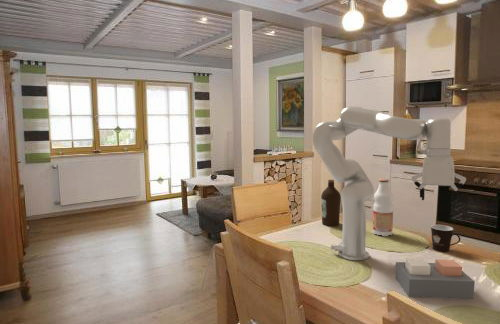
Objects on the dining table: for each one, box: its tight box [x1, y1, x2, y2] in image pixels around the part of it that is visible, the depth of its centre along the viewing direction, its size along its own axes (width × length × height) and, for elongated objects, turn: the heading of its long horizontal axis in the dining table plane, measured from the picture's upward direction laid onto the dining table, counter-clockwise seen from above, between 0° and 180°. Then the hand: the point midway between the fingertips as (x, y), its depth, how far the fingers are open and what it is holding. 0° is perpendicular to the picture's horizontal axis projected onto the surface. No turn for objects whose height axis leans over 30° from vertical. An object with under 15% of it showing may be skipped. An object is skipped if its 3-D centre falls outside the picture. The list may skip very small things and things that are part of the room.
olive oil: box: [320, 179, 342, 227], centre depth 194 cm, size 11×11×25 cm
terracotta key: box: [434, 258, 463, 276], centre depth 118 cm, size 6×6×4 cm
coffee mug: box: [430, 224, 461, 253], centre depth 152 cm, size 12×9×10 cm
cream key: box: [405, 258, 430, 275], centre depth 119 cm, size 6×6×4 cm
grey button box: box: [394, 261, 475, 300], centre depth 119 cm, size 20×14×6 cm
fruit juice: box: [372, 178, 394, 237], centre depth 175 cm, size 9×9×28 cm
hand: (437, 200), depth 126 cm, fingers open, 9 cm apart
